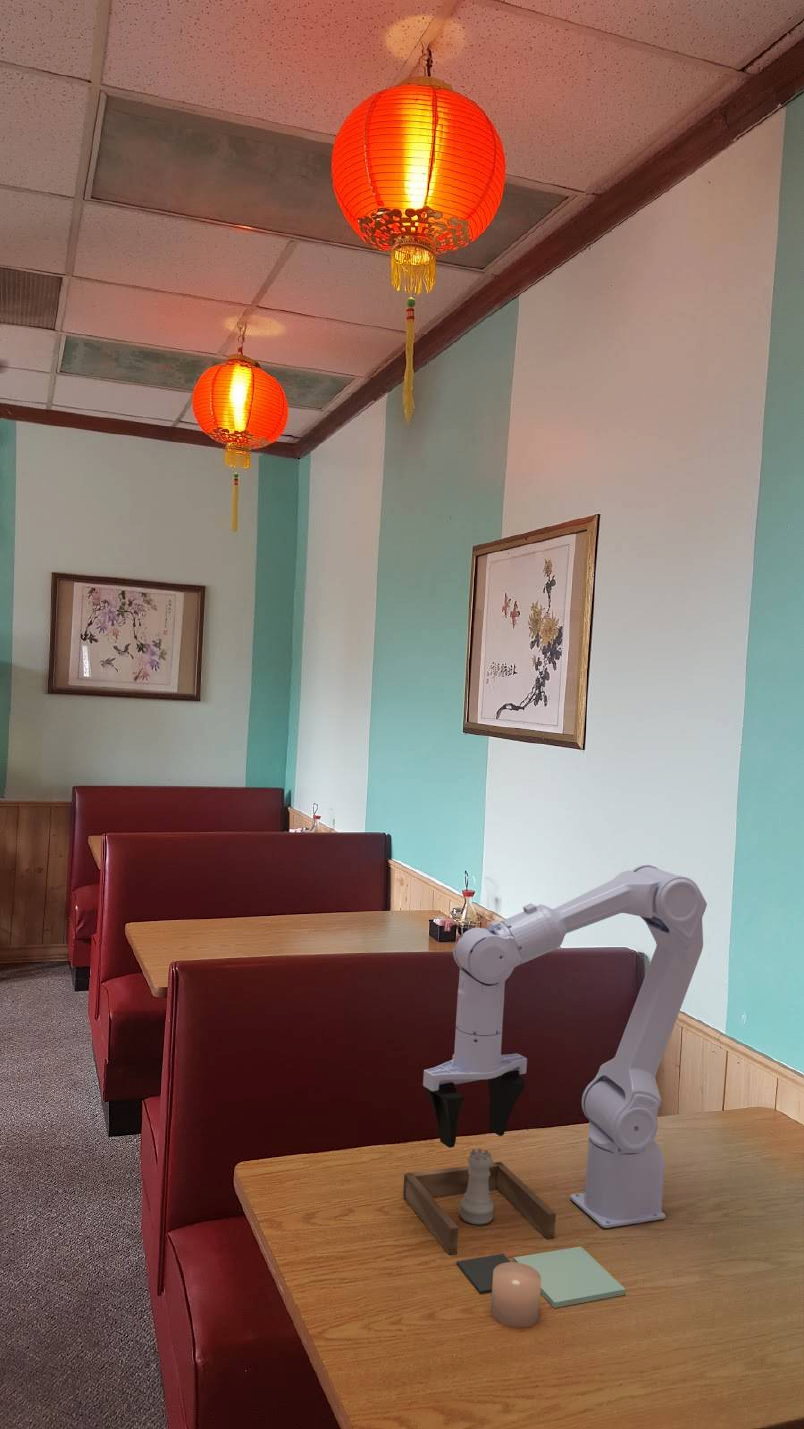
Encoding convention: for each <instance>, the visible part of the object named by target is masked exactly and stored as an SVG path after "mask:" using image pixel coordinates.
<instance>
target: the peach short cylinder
mask: <svg viewBox="0 0 804 1429" xmlns="http://www.w3.org/2000/svg"><path fill="white" fill-rule="evenodd" d="M540 1288H541V1276H540V1274H539V1273H538V1271H537V1270H535V1269H534V1268H532V1267H530V1266H528V1265H526V1264H522V1263H517V1262H513V1261H510V1262H507V1263H502V1264H500V1265H498V1266H496V1267H495V1269H494V1271H493V1284H492V1292H491V1300H490V1302H491V1303H490V1314H491V1316H492V1317H493V1318H494V1319H495V1320H496V1321H497V1322H498V1323H500V1322H501V1323H500V1324H502V1323H503V1324H502V1325H505V1326H507V1327H511V1328H517V1329H518V1328H529V1327H530V1326H534V1325H535V1324H537V1322H538V1321H539V1316H540V1314H539V1313H540V1301H541V1293H540Z"/></svg>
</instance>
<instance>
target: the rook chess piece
mask: <svg viewBox="0 0 804 1429" xmlns="http://www.w3.org/2000/svg"><path fill="white" fill-rule="evenodd" d="M482 1150H483V1149H482V1148H477V1151H476V1149H475V1148H473V1149H472V1150H471V1151H470V1154H469V1156H468V1157H467V1158H466V1160H467V1163H468V1164H469V1165H468V1166H470V1169H469V1170H468V1174H469V1182H468V1187H467V1191H466V1193H463V1197H462V1198H461V1200H460V1201H459V1208H458V1214H459V1216H460V1218H461V1219H462V1220H463V1221H464V1222H465V1223H467V1224H471V1225H476V1226H483V1225H487V1224H489V1223H491V1221H492V1220H493V1219H494V1218H495V1212H494V1210H495V1206H494V1202H493V1201H492V1197H491V1195H490V1190H489V1186H488V1180H489V1176H490V1175H491V1174H490V1172H489V1167H490V1166H491V1165H492V1164H493V1163H494V1161H493V1159H492V1157H491V1156H492V1155H491V1152H489V1150H488V1149H484V1152H482Z"/></svg>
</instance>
